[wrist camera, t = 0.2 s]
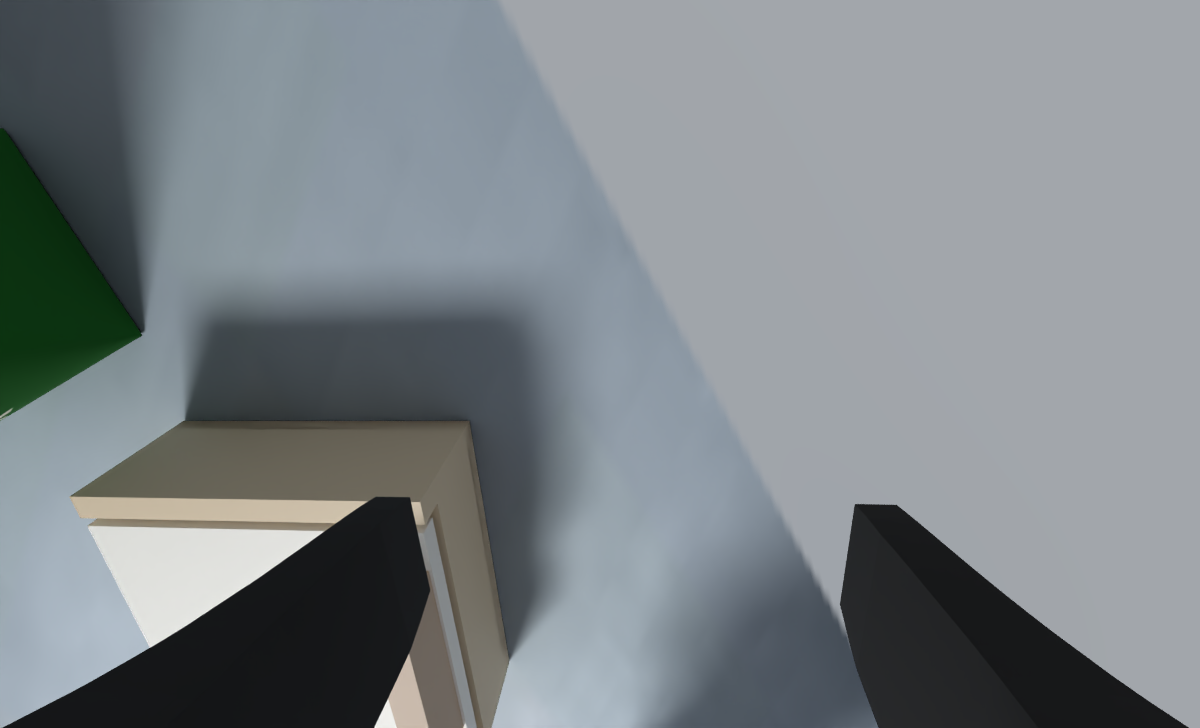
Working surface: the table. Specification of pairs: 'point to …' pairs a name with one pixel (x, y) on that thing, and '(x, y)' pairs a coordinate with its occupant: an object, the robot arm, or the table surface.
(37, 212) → the milk carton
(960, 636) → the robot arm
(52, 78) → the table surface
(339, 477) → the box
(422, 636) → the lid
